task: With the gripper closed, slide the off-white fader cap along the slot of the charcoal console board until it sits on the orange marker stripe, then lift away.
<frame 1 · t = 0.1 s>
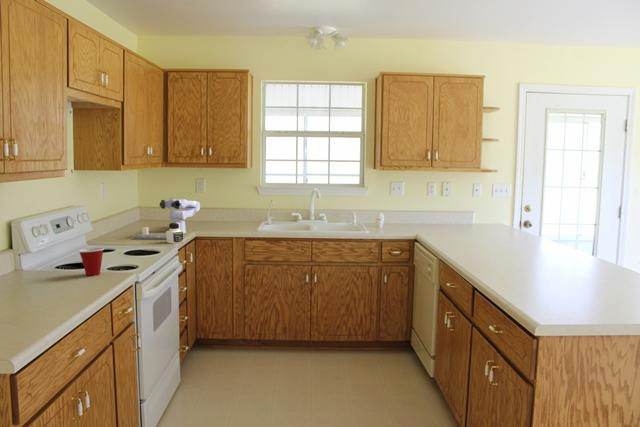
hand: (166, 204, 324), 22 cm above the countertop, tool horizontal, fingers open, 7 cm apart
plastic cup: (92, 275, 232), on the countertop
fader: (145, 231, 329), point 4 cm above the countertop, slide at -6.0 cm
console: (154, 237, 329), on the countertop
medicine bottle: (174, 242, 313), on the countertop
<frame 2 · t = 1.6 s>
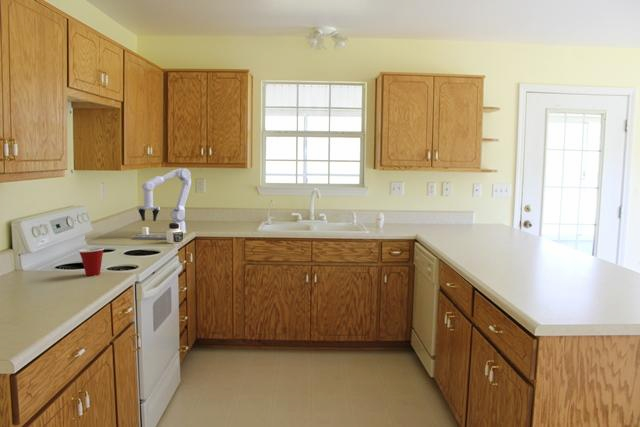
hand: (149, 220, 332), 10 cm above the countertop, tool pointing down, fingers open, 7 cm apart
nothing on the countertop moved.
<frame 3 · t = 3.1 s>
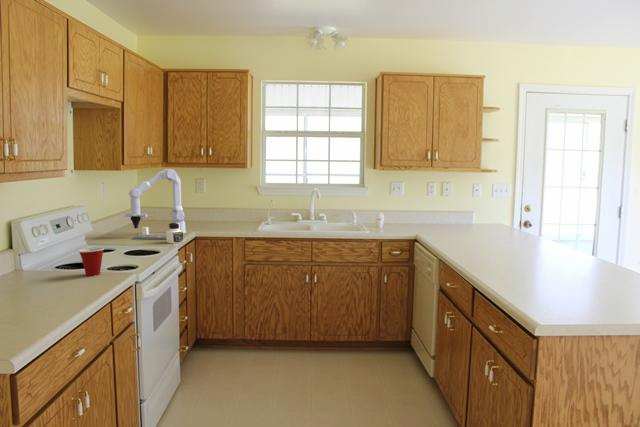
hand: (136, 228, 329), 6 cm above the countertop, tool pointing down, fingers closed
nothing on the countertop moved.
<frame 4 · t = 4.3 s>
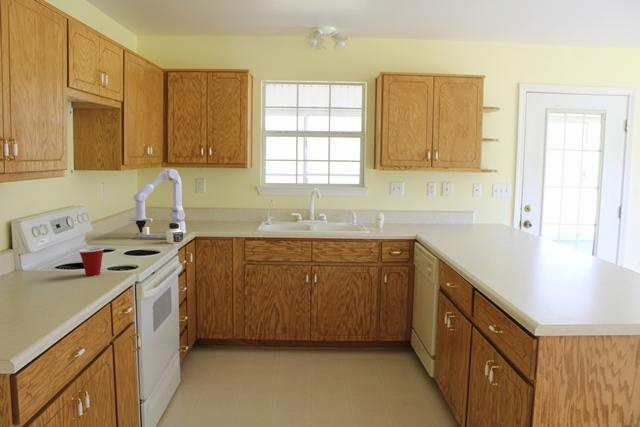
hand: (141, 232, 329), 3 cm above the countertop, tool pointing down, fingers closed
fader: (145, 231, 329), point 4 cm above the countertop, slide at -5.6 cm, touching gripper
everything else where it was.
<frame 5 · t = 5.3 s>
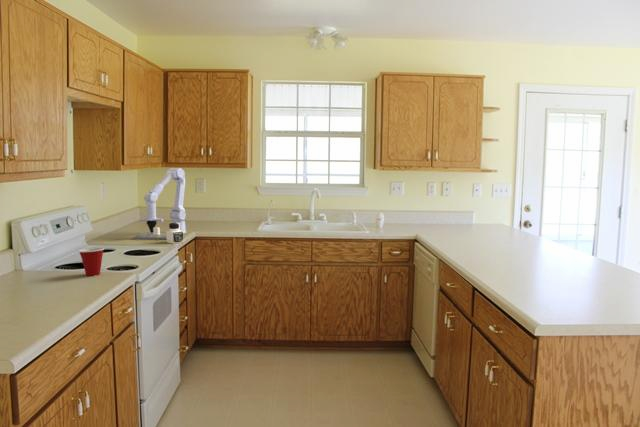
hand: (152, 232, 328), 3 cm above the countertop, tool pointing down, fingers closed
fader: (156, 231, 328), point 4 cm above the countertop, slide at 1.6 cm, touching gripper
everything else where it was.
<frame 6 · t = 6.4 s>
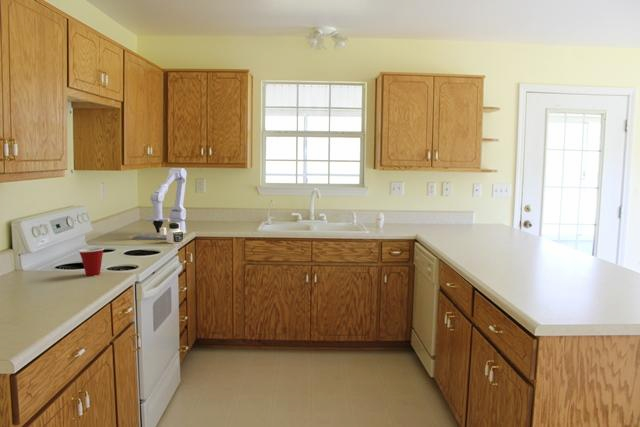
hand: (158, 232, 328), 3 cm above the countertop, tool pointing down, fingers closed
fader: (162, 231, 328), point 4 cm above the countertop, slide at 5.8 cm, touching gripper
everything else where it was.
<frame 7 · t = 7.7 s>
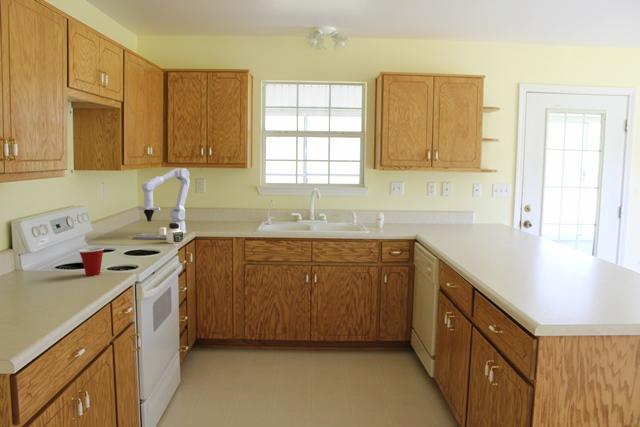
hand: (149, 221, 330), 10 cm above the countertop, tool pointing down, fingers closed
fader: (162, 231, 328), point 4 cm above the countertop, slide at 5.8 cm
everything else where it was.
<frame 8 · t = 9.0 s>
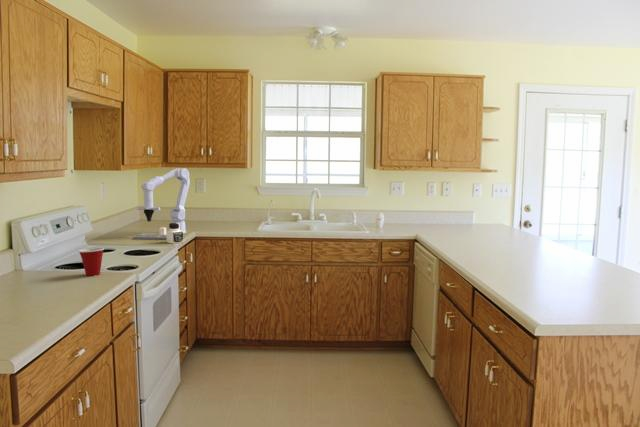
hand: (149, 221, 330), 10 cm above the countertop, tool pointing down, fingers closed
nothing on the countertop moved.
at the end: fader slide at 5.8 cm; fader touching nothing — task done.
